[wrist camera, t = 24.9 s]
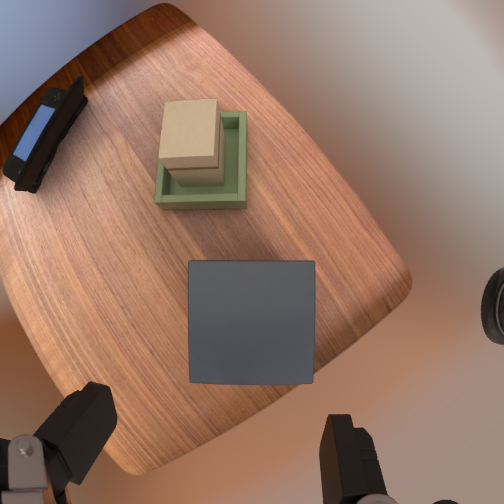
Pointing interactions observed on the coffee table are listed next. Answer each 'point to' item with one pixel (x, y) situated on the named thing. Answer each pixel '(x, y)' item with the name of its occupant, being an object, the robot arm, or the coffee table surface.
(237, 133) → the socket
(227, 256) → the coffee table surface
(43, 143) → the game console
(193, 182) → the tan lidded box
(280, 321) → the grey block
